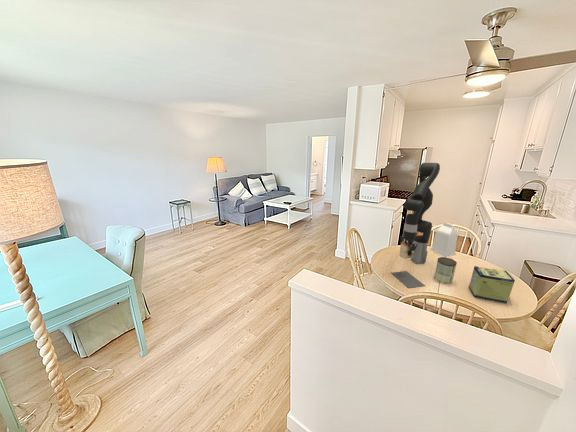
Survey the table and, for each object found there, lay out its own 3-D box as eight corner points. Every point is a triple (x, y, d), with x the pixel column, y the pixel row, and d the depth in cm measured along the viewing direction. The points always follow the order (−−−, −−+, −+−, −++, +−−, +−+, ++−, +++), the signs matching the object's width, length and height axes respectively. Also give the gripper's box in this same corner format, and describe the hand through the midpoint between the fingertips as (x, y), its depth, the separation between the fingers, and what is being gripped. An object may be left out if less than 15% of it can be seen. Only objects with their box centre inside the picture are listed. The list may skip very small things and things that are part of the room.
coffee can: (432, 274, 155) (435, 256, 150) (449, 276, 151) (453, 258, 147) (436, 282, 145) (440, 263, 141) (454, 285, 142) (459, 265, 138)
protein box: (507, 303, 125) (515, 280, 120) (473, 297, 131) (480, 274, 126) (499, 292, 134) (506, 270, 129) (468, 287, 140) (473, 265, 135)
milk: (431, 251, 188) (436, 222, 180) (440, 248, 192) (446, 220, 184) (445, 257, 177) (451, 227, 169) (454, 254, 181) (461, 224, 173)
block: (408, 254, 152) (410, 241, 149) (413, 257, 148) (415, 244, 145) (399, 255, 151) (401, 242, 148) (403, 258, 146) (405, 245, 144)
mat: (406, 271, 159) (406, 270, 159) (425, 286, 142) (425, 285, 142) (391, 273, 157) (391, 272, 157) (408, 288, 140) (408, 287, 140)
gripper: (423, 233, 137) (419, 258, 142) (407, 225, 151) (404, 248, 156) (412, 234, 136) (408, 259, 141) (397, 226, 150) (394, 249, 155)
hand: (406, 253), depth 149 cm, fingers closed on block, 4 cm apart
